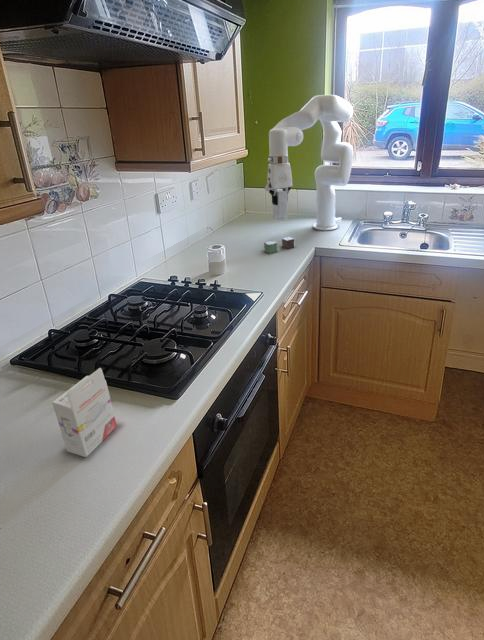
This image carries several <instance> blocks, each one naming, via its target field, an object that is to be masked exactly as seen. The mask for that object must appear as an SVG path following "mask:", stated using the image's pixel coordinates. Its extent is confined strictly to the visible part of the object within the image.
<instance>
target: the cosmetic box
mask: <svg viewBox="0 0 484 640" xmlns="http://www.w3.org/2000/svg"><path fill="white" fill-rule="evenodd" d="M276 196H277V197H278V205H274V204H272V218H273V219H275V220H277V221H285V220H288V200H287V196H288V194H287V192H286V191H283V190H282V189H277V193H276Z"/></svg>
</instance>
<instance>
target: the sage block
mask: <svg viewBox="0 0 484 640" xmlns="http://www.w3.org/2000/svg"><path fill="white" fill-rule="evenodd" d="M263 244H264V245H263V250H264V252H265V253H267V254H269V255H270V254H274V253H278V244H277V242H275V241H273V240H269V241H265V242H263Z"/></svg>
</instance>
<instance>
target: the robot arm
mask: <svg viewBox="0 0 484 640" xmlns="http://www.w3.org/2000/svg"><path fill="white" fill-rule="evenodd" d="M352 117H353V106H352V104H351V103H350V102H349V101H347V100H345V99H344V98H342V97H340V96H338V95H336V94H319V95H314V96H313V97H311V99H309V101H308V102H307V103H305V105H304V106H303V107H301V109H300V110H298V111H296V112H294V113H292V114H290V115H288V116H286V117H284V118H283V119H281V120H280V121H278V122H277V124H275V126H274V127H272V128H271V129H270V130H269V131H268V140H269V141H268V144H269V145H268V146H269V158H267V162H269V164H268V167H267V175H266V177H267V179H266V180H267V183H266V185H265V187H264V190H265V191H266V192H268V193H269V194H270V196H271V203H272V205H273V204H274V205H278V197H277V196H276V193H277V190H282V191H286V192H287V201H288V200H289V199H288V198H289V197H288V195H289V193H290V191H291V189H293V187H294V182H293V175H292V167H291V164H290V162H289V151H288V150H289V148H288V147H297V146H299V145H301V144H302V142H303V140H304V132H303V131H304V130H307V129H310V128H312V127H313V126H314V125H315V124H316V123H317V122H318V121H319V122H320V123H321V126H322V129H323V138H322V142H321V143H322V144H321V151H320V159H321V160H322V161H323V162H324V163H325V162H326V163H335V164H339V165H334V164H320V165H319V166H317V168H315V171H314V180H315V185H316V211H315V212H316V223H313V228H314V229H315V230H319V231H332V230H336V229H338V228H339V224H337V223H339V222H342V221H343V219H342V217H336V194H337V193H336V190H335V188H334V186H336V187H344V186H347V185H348V183H349V182H350V178H351V172H352V167H353V161H354V147H353V146H352V144H350V143H349V142H341V139H342V130H341V127H340V125H339V123H345V122H348V121H350V120H351V118H352Z"/></svg>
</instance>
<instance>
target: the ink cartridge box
mask: <svg viewBox="0 0 484 640" xmlns="http://www.w3.org/2000/svg"><path fill="white" fill-rule="evenodd" d="M52 406H53V407H52V408H53V410H54V412H55V416H56V419H57V423H58V427H59V429H60V433H61V436H62V438H63V442H64V445H65V448H66V451H67V453H71V454H74V455H77V456H80V457H83V458H88V456H90V455H91V454H92V452H94V451H95V449H97V447H98V446H99V445H100V444H102V443H103V441H105V440H106V439H107V438H108V436H109V435H110V434H111V433H112V432H113V431H114V430H115V429H116V428H117V427H118V424H117V421H116V417H115V412H114V408H113V403H112V399H111V396H110V391H109V388H108V384H107V380H106V379H105V375H104V372H103V369H102V367H99V368H97V369H96V370H95V371H93V372H92V373H91V374H89V375H86V376H84V377H83V378H82V379H81V380H79V381H78V382H77V383H76V384H74V385H73V386H71V387H70V388H69V389H67V390H66V391H65V392H64V393H62V394H61V395H59V396H58V397H57V398H55V399H54V400H53V401H52Z"/></svg>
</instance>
